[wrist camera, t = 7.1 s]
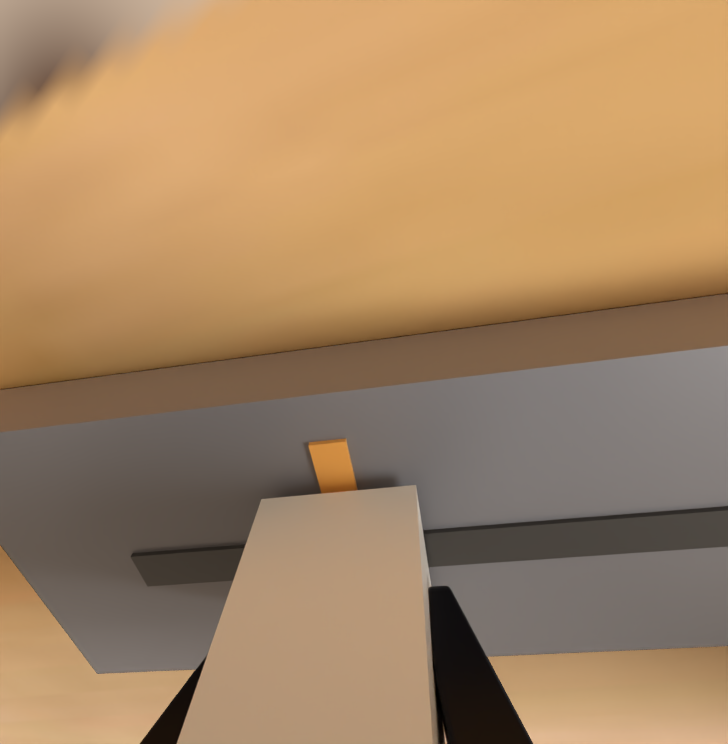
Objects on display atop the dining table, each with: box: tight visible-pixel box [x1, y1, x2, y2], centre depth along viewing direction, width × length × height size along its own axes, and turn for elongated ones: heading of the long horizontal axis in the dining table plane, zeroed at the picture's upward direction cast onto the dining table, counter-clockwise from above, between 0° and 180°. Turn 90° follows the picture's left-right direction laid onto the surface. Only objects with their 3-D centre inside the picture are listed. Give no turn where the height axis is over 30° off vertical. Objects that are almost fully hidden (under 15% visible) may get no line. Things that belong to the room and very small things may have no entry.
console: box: [0, 294, 728, 674], centre depth 10 cm, size 8×24×2 cm, turn 100°
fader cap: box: [177, 485, 447, 744], centre depth 8 cm, size 4×3×5 cm
